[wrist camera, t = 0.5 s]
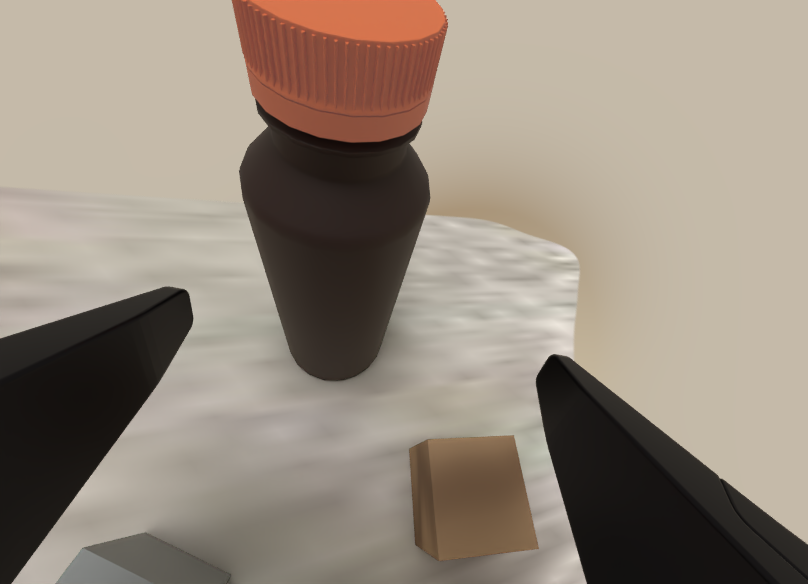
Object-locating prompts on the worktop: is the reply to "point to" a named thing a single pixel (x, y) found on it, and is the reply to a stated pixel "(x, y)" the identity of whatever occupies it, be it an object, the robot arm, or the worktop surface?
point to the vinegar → (337, 164)
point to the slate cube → (139, 564)
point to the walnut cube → (470, 498)
